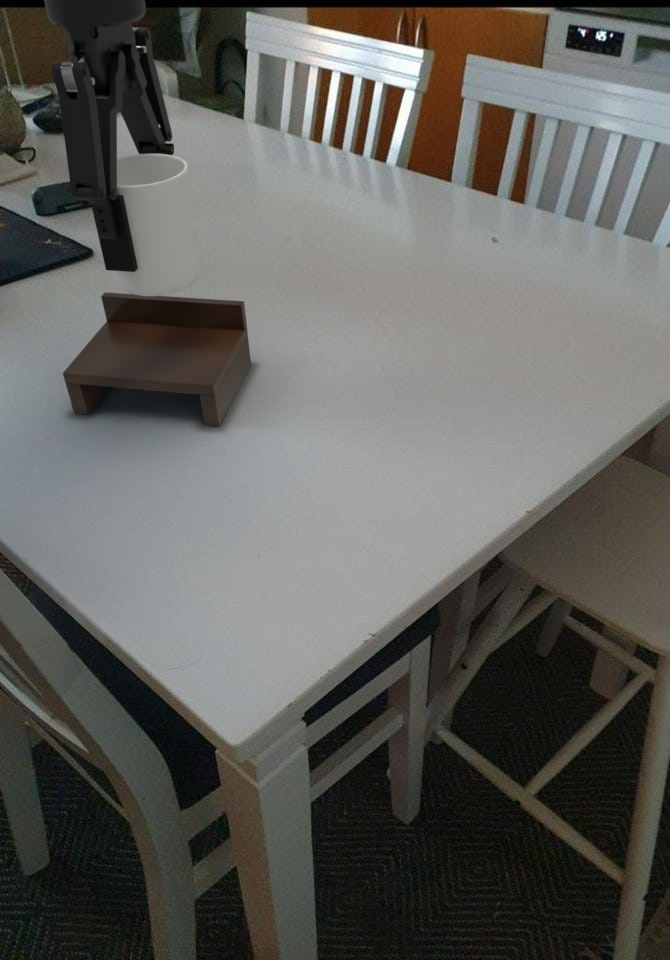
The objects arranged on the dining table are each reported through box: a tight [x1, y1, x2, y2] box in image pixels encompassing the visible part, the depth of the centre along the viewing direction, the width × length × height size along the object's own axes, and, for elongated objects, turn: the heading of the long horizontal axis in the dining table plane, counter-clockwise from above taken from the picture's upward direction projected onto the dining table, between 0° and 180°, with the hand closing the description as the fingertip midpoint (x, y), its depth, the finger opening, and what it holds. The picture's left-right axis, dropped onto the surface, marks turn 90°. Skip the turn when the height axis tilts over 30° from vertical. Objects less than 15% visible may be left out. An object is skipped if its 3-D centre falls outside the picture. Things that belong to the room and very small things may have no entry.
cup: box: [112, 153, 203, 296], centre depth 75 cm, size 8×12×10 cm
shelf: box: [62, 292, 252, 428], centre depth 86 cm, size 16×12×8 cm
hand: (142, 246), depth 75 cm, fingers closed on cup, 9 cm apart
